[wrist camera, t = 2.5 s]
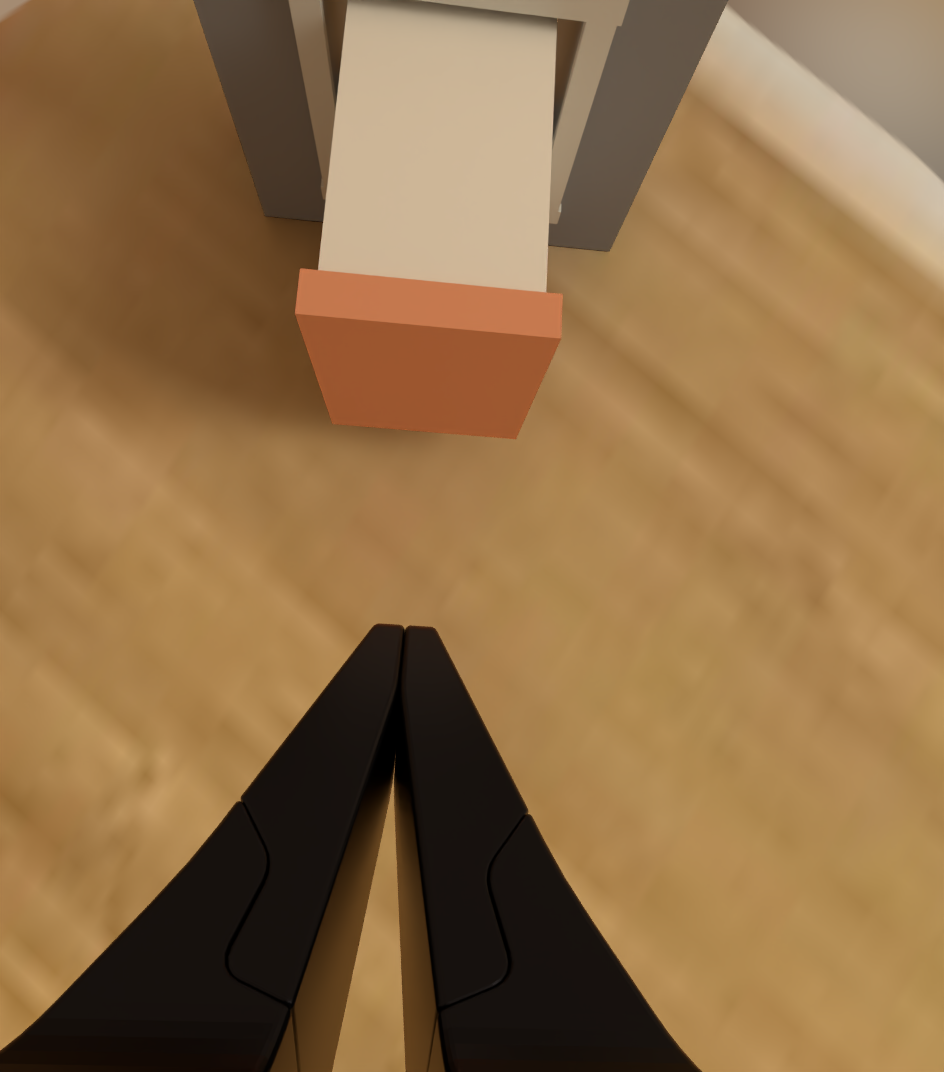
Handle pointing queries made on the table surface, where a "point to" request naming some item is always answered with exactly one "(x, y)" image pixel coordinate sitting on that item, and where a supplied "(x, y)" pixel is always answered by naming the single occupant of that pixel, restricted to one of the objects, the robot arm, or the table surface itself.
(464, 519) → the table surface
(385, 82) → the plunger
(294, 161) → the box
